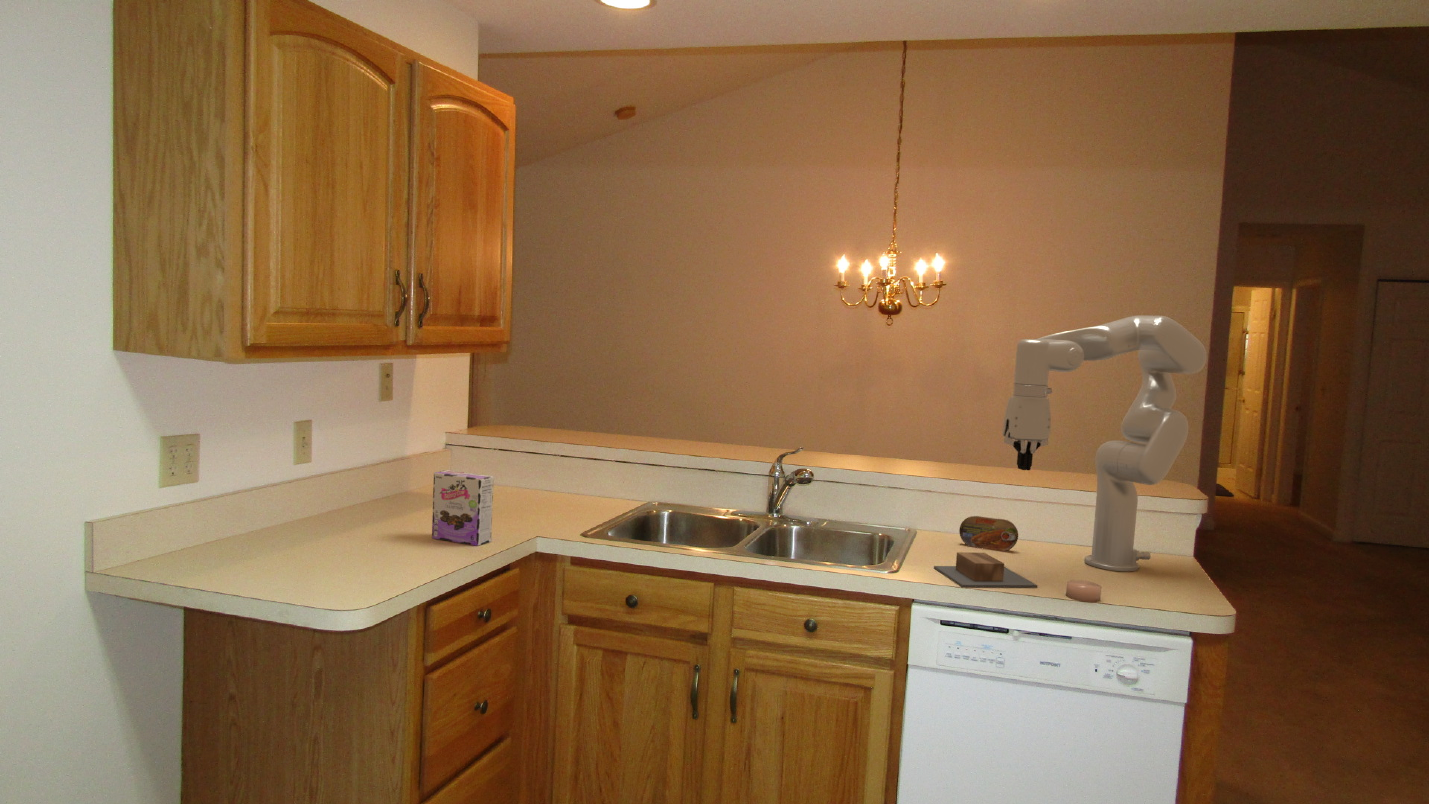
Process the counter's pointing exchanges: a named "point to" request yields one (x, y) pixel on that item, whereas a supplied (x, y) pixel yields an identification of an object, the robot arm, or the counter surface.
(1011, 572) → the mat
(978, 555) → the slab
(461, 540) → the candy box
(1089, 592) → the pink round puck
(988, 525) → the tin
